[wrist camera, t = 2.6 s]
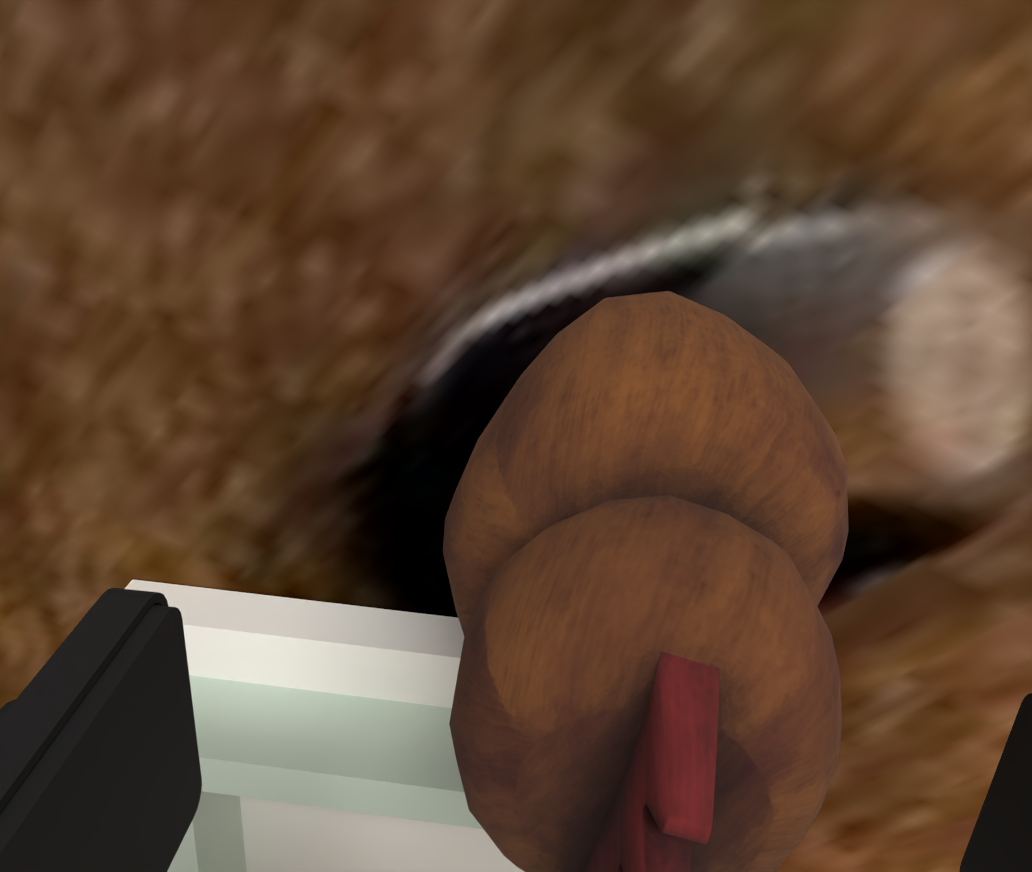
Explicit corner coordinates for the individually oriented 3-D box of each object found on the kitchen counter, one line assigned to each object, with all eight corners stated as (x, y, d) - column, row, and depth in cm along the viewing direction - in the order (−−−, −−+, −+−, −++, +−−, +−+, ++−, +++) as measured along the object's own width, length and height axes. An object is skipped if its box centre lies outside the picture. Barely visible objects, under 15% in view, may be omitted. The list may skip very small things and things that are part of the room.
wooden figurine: (647, 582, 22) (668, 1513, 8) (442, 445, 21) (99, 1241, 8) (853, 365, 19) (1369, 1223, 6) (627, 196, 18) (607, 745, 5)
